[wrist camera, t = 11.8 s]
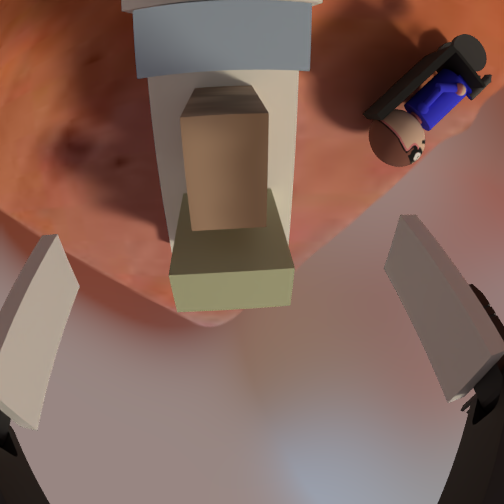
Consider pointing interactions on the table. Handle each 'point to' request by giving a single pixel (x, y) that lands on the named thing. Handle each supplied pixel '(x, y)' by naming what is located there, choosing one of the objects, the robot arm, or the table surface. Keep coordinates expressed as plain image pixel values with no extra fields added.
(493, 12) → the table surface
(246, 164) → the book
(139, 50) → the book
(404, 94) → the character figurine
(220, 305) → the book
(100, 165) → the table surface
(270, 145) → the white book rack
